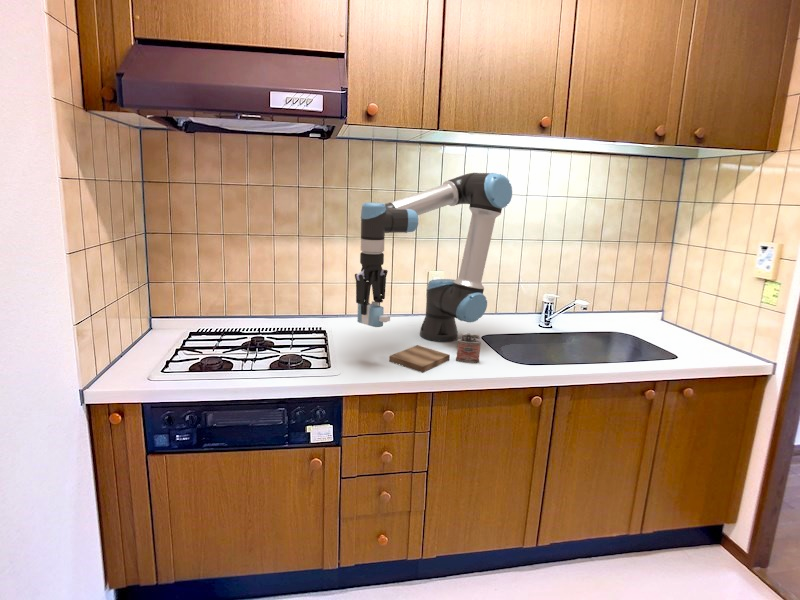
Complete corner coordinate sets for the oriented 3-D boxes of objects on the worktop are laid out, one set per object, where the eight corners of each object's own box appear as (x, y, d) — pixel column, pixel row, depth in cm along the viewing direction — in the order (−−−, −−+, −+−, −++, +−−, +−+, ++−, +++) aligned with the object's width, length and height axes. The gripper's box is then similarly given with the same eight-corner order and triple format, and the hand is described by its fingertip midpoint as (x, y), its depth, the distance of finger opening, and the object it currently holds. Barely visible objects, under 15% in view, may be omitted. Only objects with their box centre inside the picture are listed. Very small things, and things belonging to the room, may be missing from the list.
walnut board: (417, 350, 182) (417, 345, 182) (449, 360, 174) (449, 354, 174) (389, 361, 170) (389, 355, 170) (422, 372, 162) (422, 366, 161)
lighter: (455, 361, 173) (458, 334, 171) (456, 358, 176) (458, 331, 174) (479, 363, 172) (481, 336, 170) (479, 360, 175) (481, 333, 173)
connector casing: (363, 318, 169) (363, 301, 167) (391, 326, 161) (391, 309, 160) (354, 321, 166) (355, 303, 164) (383, 329, 158) (383, 311, 157)
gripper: (380, 248, 167) (378, 315, 173) (344, 253, 154) (343, 325, 160) (398, 251, 163) (395, 319, 169) (362, 256, 150) (360, 330, 156)
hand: (370, 322), depth 164 cm, fingers closed on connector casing, 4 cm apart
